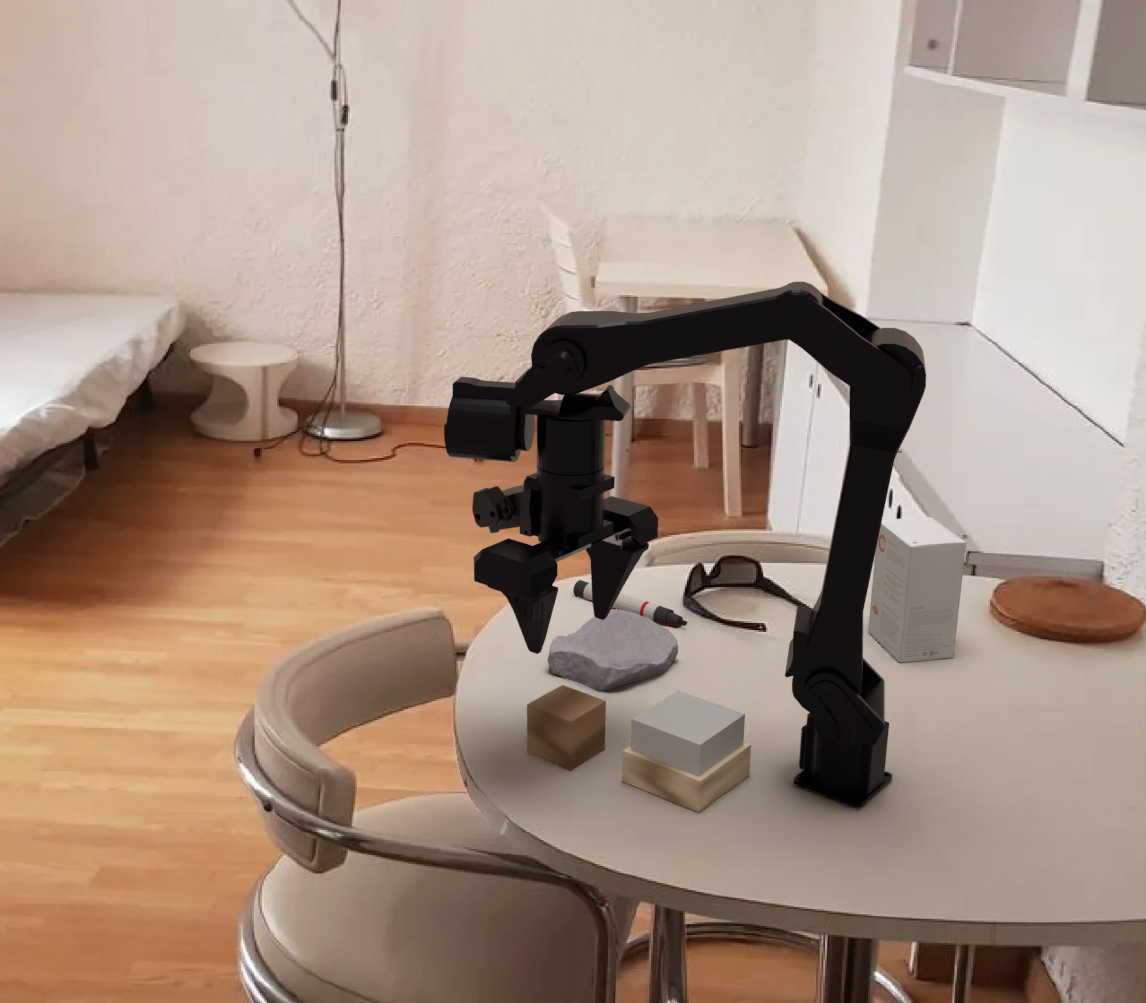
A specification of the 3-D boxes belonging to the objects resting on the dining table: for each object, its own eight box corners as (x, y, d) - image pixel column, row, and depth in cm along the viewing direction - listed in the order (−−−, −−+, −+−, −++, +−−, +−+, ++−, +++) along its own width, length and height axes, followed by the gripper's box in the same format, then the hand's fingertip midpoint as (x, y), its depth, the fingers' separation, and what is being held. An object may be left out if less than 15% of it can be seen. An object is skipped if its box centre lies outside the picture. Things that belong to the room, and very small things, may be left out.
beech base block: (749, 774, 122) (751, 744, 121) (698, 812, 116) (700, 781, 115) (674, 746, 127) (675, 716, 126) (621, 781, 121) (622, 750, 120)
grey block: (743, 744, 121) (745, 714, 120) (698, 776, 116) (700, 744, 115) (676, 720, 125) (677, 690, 124) (630, 750, 120) (631, 719, 119)
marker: (573, 598, 160) (573, 582, 159) (583, 593, 161) (584, 577, 160) (682, 635, 151) (682, 618, 150) (692, 629, 152) (693, 613, 151)
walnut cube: (604, 750, 126) (605, 700, 125) (570, 772, 123) (571, 721, 121) (562, 733, 129) (562, 684, 128) (527, 754, 126) (527, 704, 124)
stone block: (684, 675, 145) (609, 632, 150) (692, 637, 143) (616, 595, 148) (614, 720, 137) (538, 673, 142) (622, 680, 134) (544, 634, 139)
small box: (954, 658, 145) (968, 542, 141) (898, 664, 144) (910, 546, 140) (920, 627, 153) (931, 515, 148) (866, 631, 151) (876, 519, 147)
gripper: (565, 424, 129) (563, 580, 134) (423, 471, 115) (427, 644, 120) (664, 447, 122) (658, 611, 127) (526, 501, 108) (526, 682, 113)
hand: (568, 634), depth 122 cm, fingers open, 9 cm apart
